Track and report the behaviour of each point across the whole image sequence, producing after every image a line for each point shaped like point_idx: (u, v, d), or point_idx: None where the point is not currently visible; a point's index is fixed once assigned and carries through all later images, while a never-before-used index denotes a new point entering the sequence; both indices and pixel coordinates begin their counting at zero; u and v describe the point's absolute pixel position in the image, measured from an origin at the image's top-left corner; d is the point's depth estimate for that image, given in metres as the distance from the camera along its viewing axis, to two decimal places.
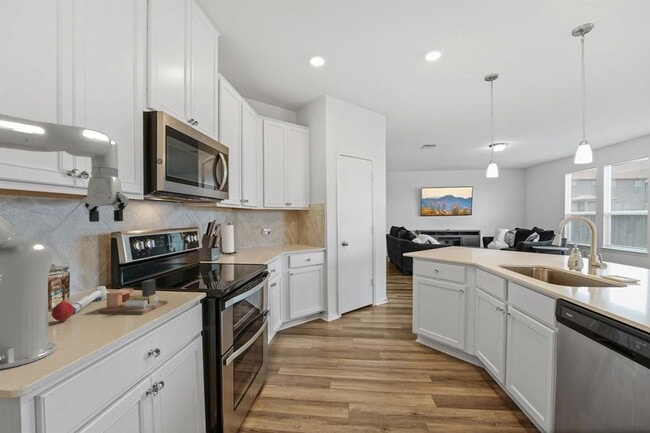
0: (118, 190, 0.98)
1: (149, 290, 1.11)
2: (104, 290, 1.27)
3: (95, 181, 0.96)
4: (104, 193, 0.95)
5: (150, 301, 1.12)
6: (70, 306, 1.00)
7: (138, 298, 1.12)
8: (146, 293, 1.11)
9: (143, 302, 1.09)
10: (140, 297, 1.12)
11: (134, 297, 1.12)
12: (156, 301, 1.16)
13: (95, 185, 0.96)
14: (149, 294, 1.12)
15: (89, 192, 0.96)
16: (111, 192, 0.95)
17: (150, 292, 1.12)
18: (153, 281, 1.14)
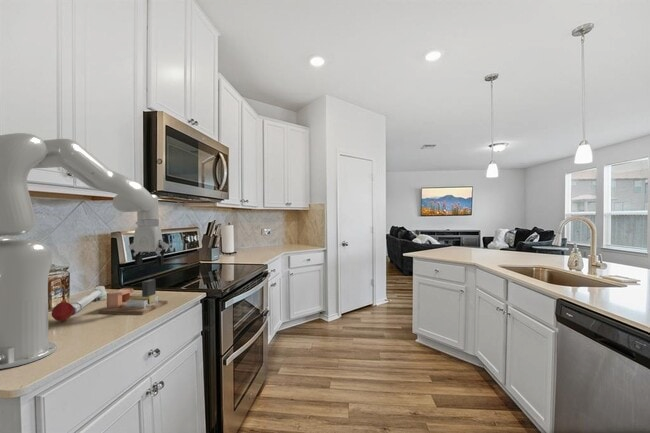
0: (160, 238, 1.13)
1: (149, 290, 1.11)
2: (103, 290, 1.27)
3: (141, 231, 1.11)
4: (148, 242, 1.10)
5: (150, 301, 1.12)
6: (70, 306, 1.00)
7: (138, 298, 1.12)
8: (146, 293, 1.11)
9: (143, 302, 1.09)
10: (140, 297, 1.12)
11: (134, 297, 1.12)
12: (156, 301, 1.16)
13: (140, 235, 1.11)
14: (149, 294, 1.12)
15: (135, 240, 1.11)
16: (154, 241, 1.10)
17: (150, 292, 1.12)
18: (153, 281, 1.14)
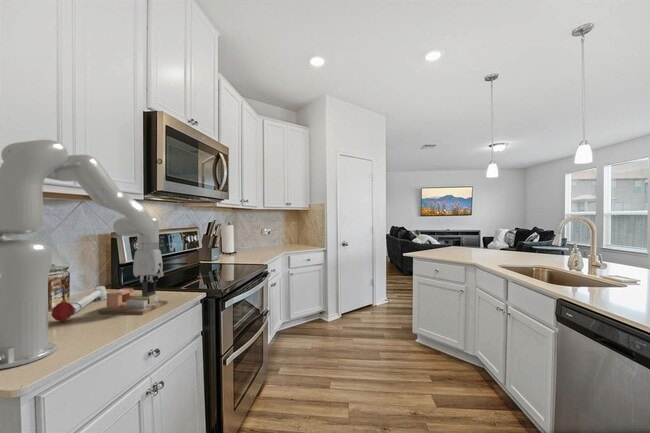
0: (159, 261, 1.12)
1: None
2: (103, 290, 1.27)
3: (141, 254, 1.10)
4: (148, 265, 1.10)
5: (150, 301, 1.12)
6: (70, 306, 1.00)
7: (138, 298, 1.12)
8: (146, 293, 1.11)
9: (143, 302, 1.09)
10: (140, 297, 1.12)
11: (134, 297, 1.12)
12: (156, 301, 1.16)
13: (140, 258, 1.10)
14: (149, 294, 1.12)
15: (135, 264, 1.11)
16: (154, 264, 1.10)
17: (150, 292, 1.12)
18: None
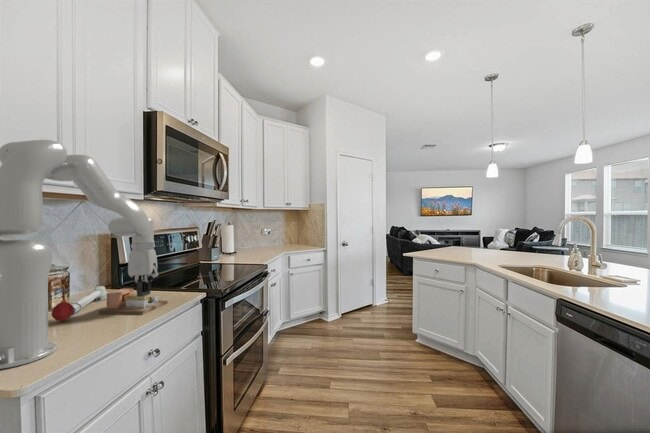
0: (154, 261, 1.13)
1: (143, 290, 1.12)
2: (103, 290, 1.27)
3: (135, 254, 1.11)
4: (143, 265, 1.10)
5: None
6: (70, 306, 1.00)
7: (133, 298, 1.12)
8: (141, 293, 1.11)
9: (143, 302, 1.09)
10: (134, 297, 1.12)
11: (129, 297, 1.12)
12: (156, 301, 1.16)
13: (135, 258, 1.11)
14: (144, 294, 1.12)
15: (130, 264, 1.11)
16: (149, 264, 1.10)
17: (145, 292, 1.12)
18: None
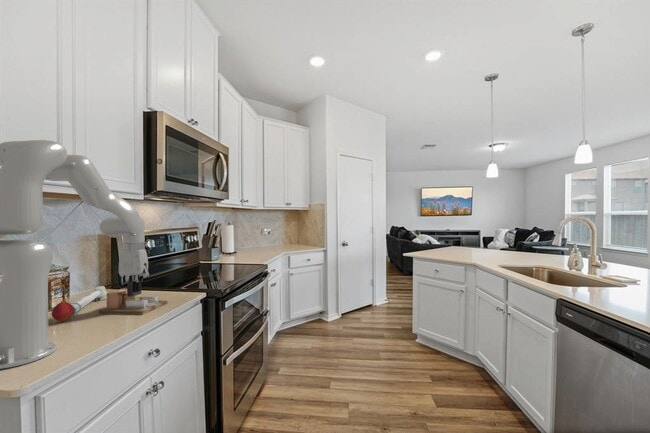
0: (145, 261, 1.13)
1: None
2: (103, 290, 1.27)
3: (126, 254, 1.11)
4: (133, 265, 1.11)
5: None
6: (70, 306, 1.00)
7: (123, 298, 1.12)
8: (131, 293, 1.11)
9: (143, 302, 1.09)
10: (125, 297, 1.12)
11: None
12: (156, 301, 1.16)
13: (125, 258, 1.11)
14: (135, 294, 1.12)
15: (120, 264, 1.11)
16: (139, 264, 1.11)
17: (135, 292, 1.13)
18: None
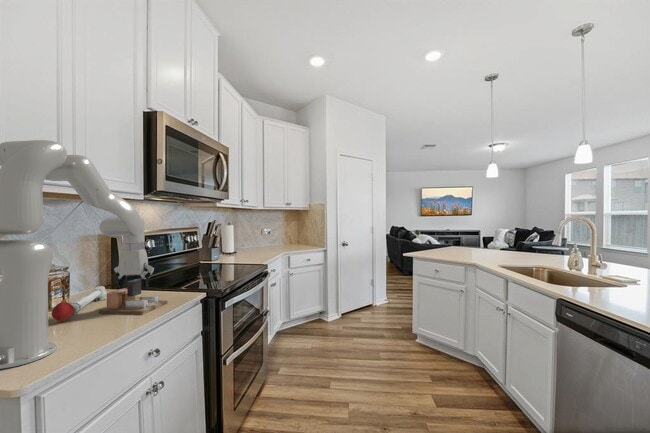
0: (145, 261, 1.13)
1: (134, 289, 1.12)
2: (103, 290, 1.27)
3: (126, 254, 1.11)
4: (133, 265, 1.11)
5: None
6: (70, 306, 1.00)
7: (123, 298, 1.12)
8: (131, 293, 1.11)
9: (143, 302, 1.09)
10: (125, 297, 1.12)
11: None
12: (156, 301, 1.16)
13: (125, 258, 1.11)
14: (135, 294, 1.12)
15: (120, 264, 1.11)
16: (139, 264, 1.11)
17: (135, 292, 1.13)
18: (139, 281, 1.15)
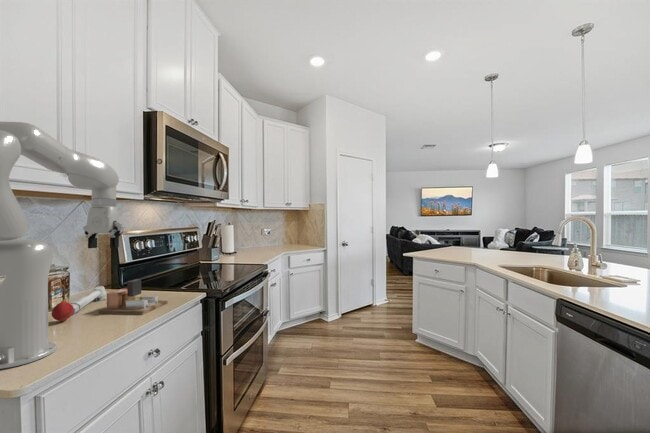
0: (115, 219, 1.06)
1: (134, 289, 1.12)
2: (103, 290, 1.26)
3: (94, 210, 1.04)
4: (102, 222, 1.03)
5: None
6: (70, 306, 1.00)
7: (123, 298, 1.12)
8: (131, 293, 1.11)
9: (143, 302, 1.09)
10: (125, 297, 1.12)
11: None
12: (156, 301, 1.16)
13: (94, 215, 1.04)
14: (135, 294, 1.12)
15: (88, 221, 1.04)
16: (108, 221, 1.03)
17: (135, 292, 1.13)
18: (139, 281, 1.15)
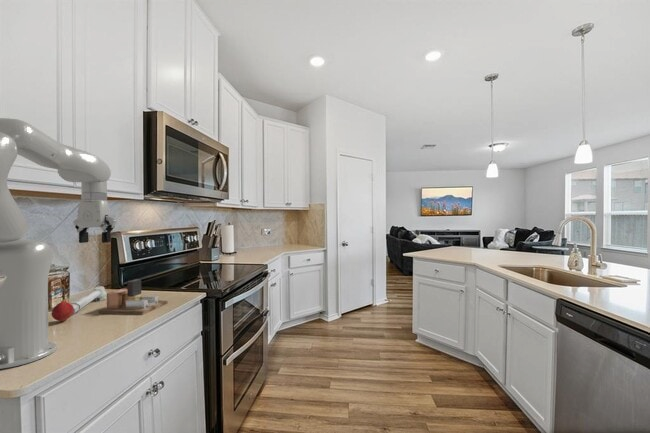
0: (106, 213, 1.04)
1: (134, 289, 1.12)
2: (103, 290, 1.26)
3: (85, 204, 1.02)
4: (93, 216, 1.02)
5: None
6: (70, 306, 1.00)
7: (123, 298, 1.12)
8: (131, 293, 1.11)
9: (143, 302, 1.09)
10: (125, 297, 1.12)
11: None
12: (156, 301, 1.16)
13: (84, 209, 1.02)
14: (135, 294, 1.12)
15: (79, 215, 1.03)
16: (99, 215, 1.02)
17: (135, 292, 1.13)
18: (139, 281, 1.15)
